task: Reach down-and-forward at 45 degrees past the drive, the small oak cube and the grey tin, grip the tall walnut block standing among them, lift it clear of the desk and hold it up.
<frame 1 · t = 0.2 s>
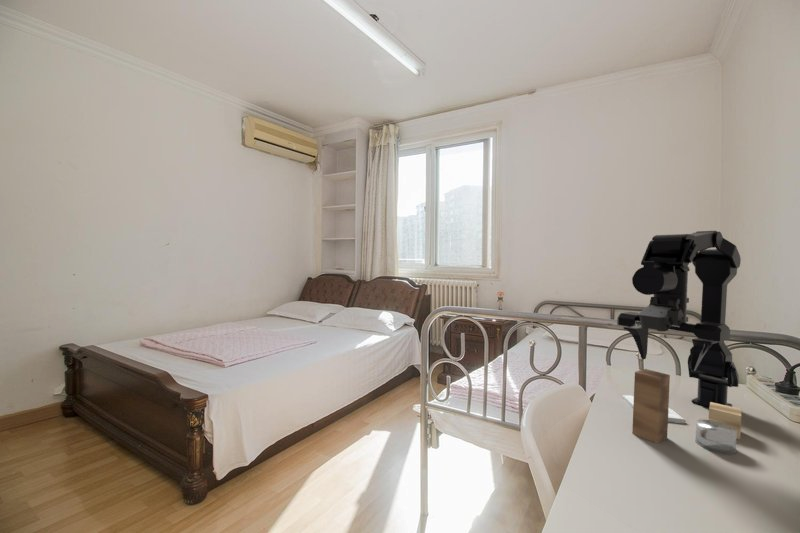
hand: (667, 364, 77), 14 cm above the table, tool pointing down, fingers open, 9 cm apart
grey tin: (715, 446, 70), on the table
walnut block: (649, 435, 73), on the table
external hard drive: (651, 413, 86), on the table
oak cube: (723, 431, 76), on the table
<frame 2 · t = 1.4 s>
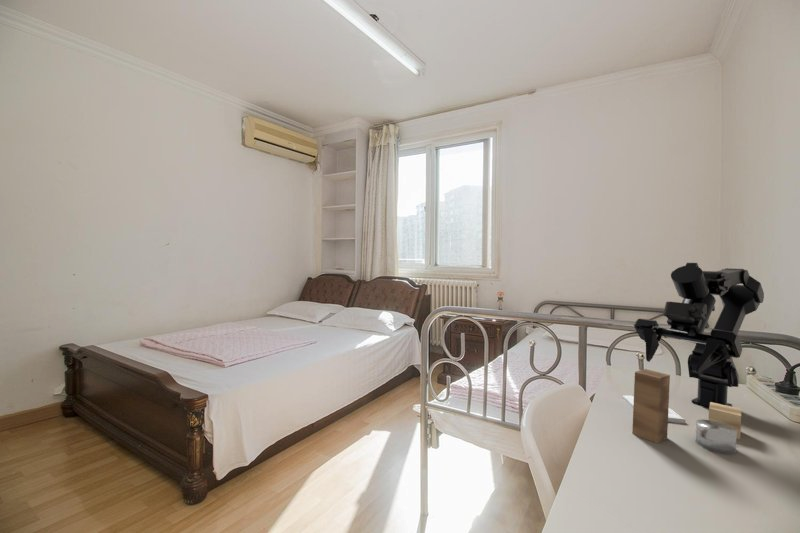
hand: (671, 366, 77), 13 cm above the table, tool tilted 45°, fingers open, 9 cm apart
nothing on the table moved.
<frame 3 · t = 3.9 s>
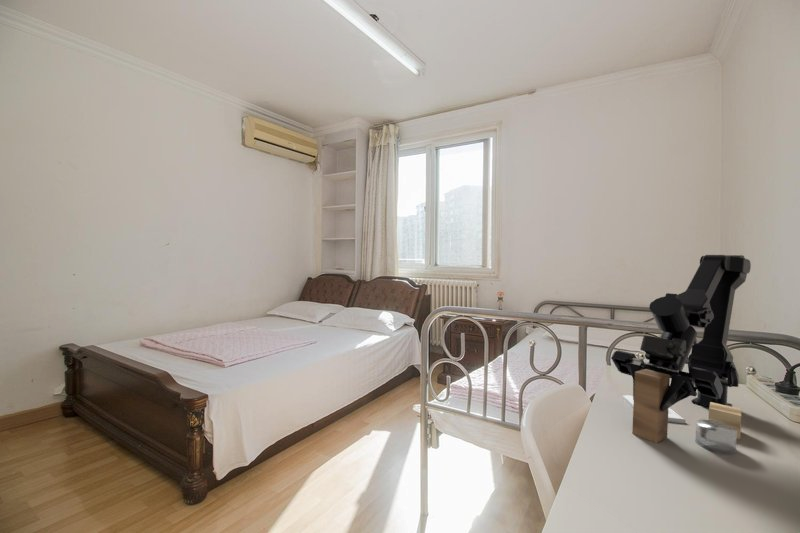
hand: (647, 405, 72), 7 cm above the table, tool tilted 45°, fingers closed on walnut block, 4 cm apart
walnut block: (649, 435, 73), on the table, touching gripper
everything else where it was.
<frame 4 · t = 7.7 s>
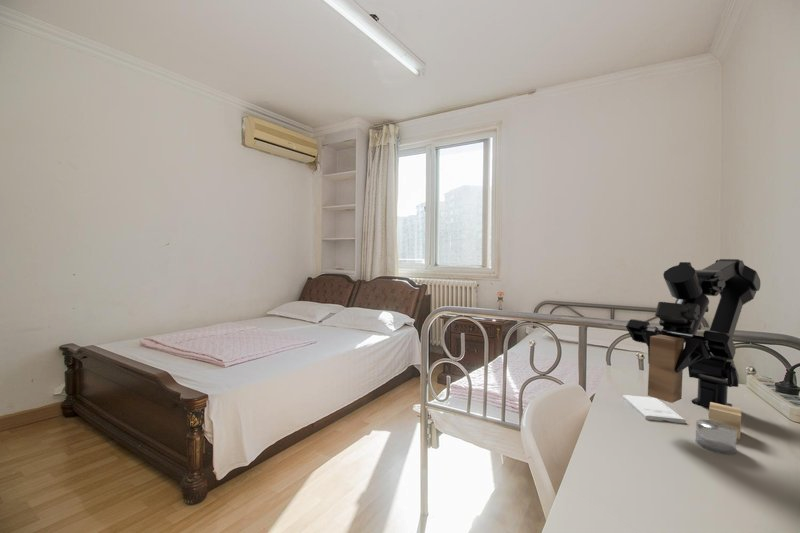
hand: (662, 367, 75), 13 cm above the table, tool tilted 45°, fingers closed on walnut block, 4 cm apart
walnut block: (664, 397, 76), point 7 cm above the table, touching gripper
everything else where it was.
at the end: the gripper is holding walnut block; walnut block point 6.9 cm above the table; walnut block touching gripper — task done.
